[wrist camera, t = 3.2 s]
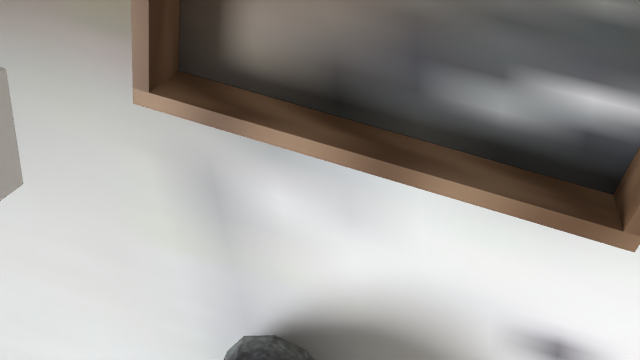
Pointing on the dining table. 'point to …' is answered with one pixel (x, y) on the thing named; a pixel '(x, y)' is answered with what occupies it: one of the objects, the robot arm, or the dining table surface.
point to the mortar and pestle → (265, 349)
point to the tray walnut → (372, 143)
